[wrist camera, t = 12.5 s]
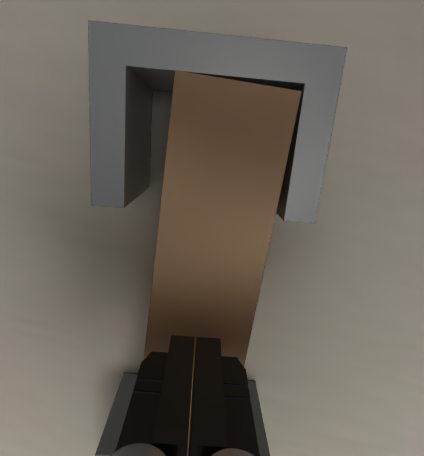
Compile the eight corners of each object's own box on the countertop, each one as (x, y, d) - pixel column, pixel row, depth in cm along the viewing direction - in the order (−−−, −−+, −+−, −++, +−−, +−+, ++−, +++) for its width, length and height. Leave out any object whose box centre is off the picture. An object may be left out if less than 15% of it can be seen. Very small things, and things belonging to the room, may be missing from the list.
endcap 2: (244, 452, 18) (256, 549, 14) (122, 446, 18) (96, 542, 14) (254, 380, 17) (271, 463, 13) (123, 373, 17) (95, 454, 12)
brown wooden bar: (186, 94, 13) (175, 70, 9) (267, 107, 14) (301, 91, 9) (149, 400, 18) (128, 499, 13) (212, 407, 18) (214, 506, 13)
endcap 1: (128, 60, 13) (88, 20, 8) (300, 77, 13) (347, 47, 9) (126, 184, 14) (91, 205, 10) (282, 197, 14) (315, 223, 10)
